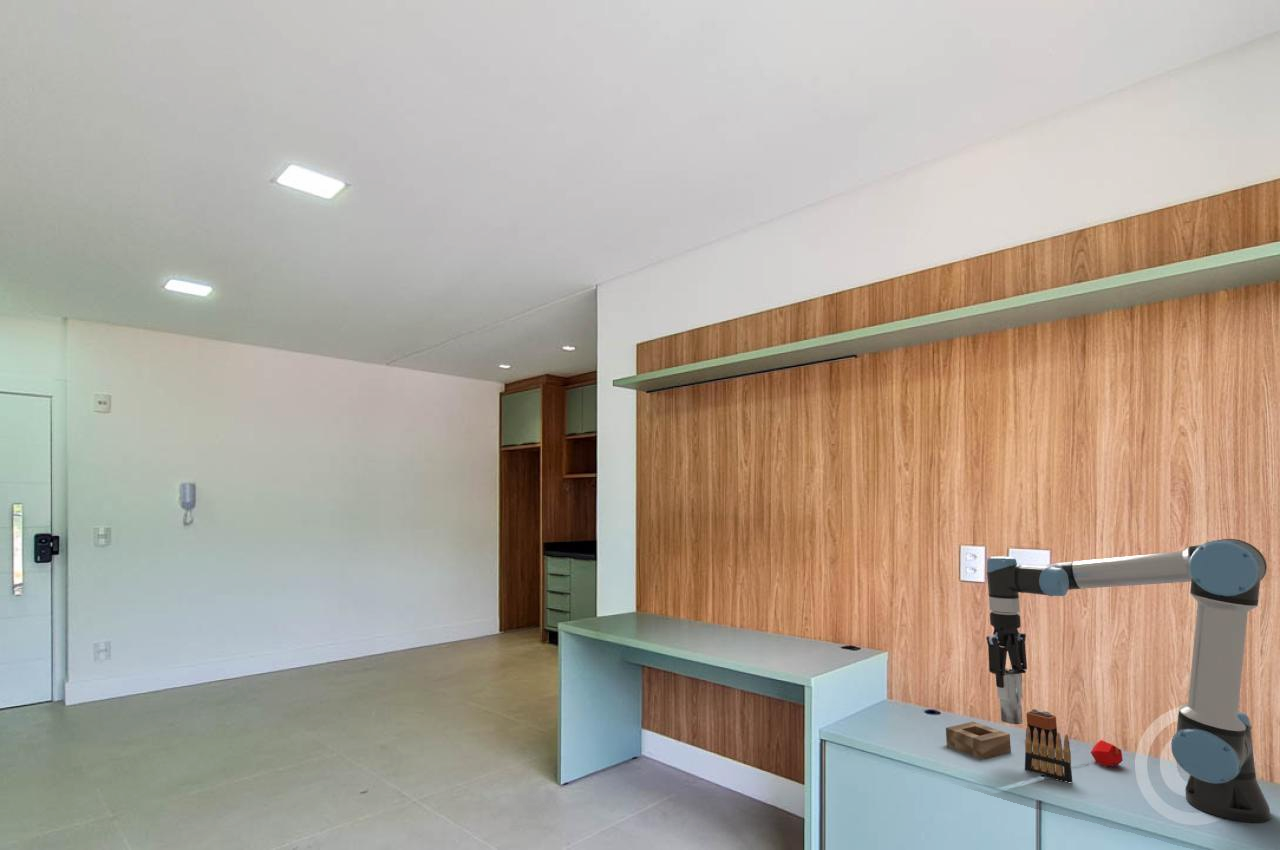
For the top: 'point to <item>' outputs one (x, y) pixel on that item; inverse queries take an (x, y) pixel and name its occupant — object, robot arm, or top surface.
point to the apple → (1106, 754)
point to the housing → (978, 740)
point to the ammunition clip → (1048, 756)
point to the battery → (1042, 724)
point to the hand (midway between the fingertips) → (1010, 697)
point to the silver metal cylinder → (1012, 699)
